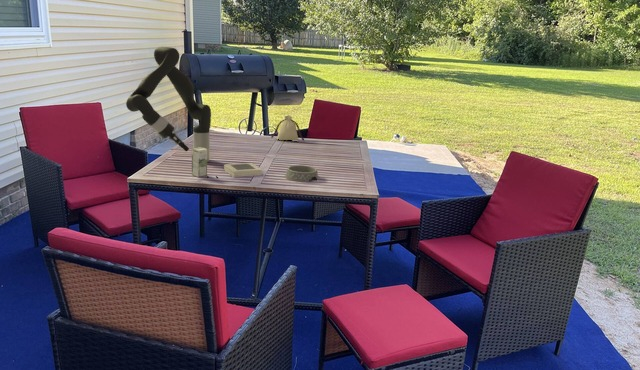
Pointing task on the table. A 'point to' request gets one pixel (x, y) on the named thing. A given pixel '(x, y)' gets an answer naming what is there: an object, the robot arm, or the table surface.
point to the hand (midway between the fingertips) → (185, 148)
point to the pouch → (288, 130)
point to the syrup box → (199, 162)
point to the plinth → (242, 169)
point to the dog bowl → (301, 173)
